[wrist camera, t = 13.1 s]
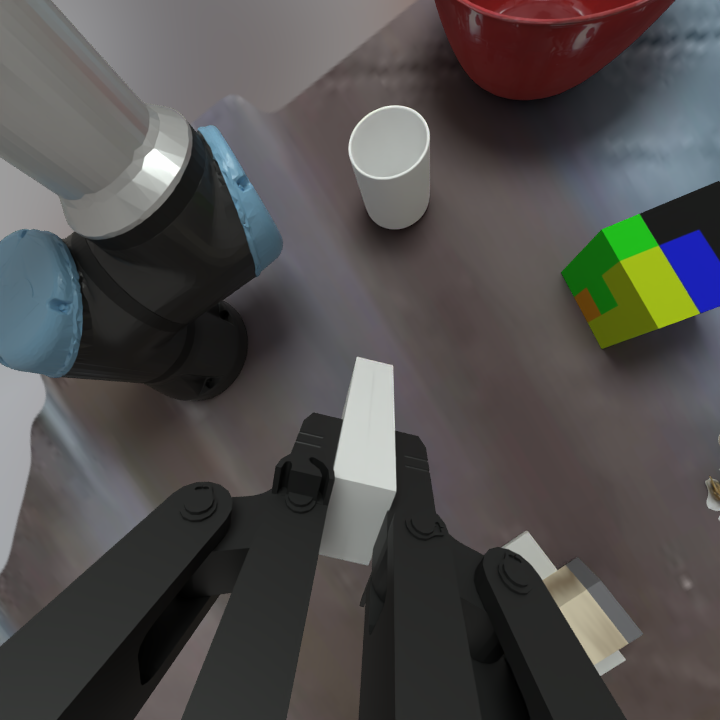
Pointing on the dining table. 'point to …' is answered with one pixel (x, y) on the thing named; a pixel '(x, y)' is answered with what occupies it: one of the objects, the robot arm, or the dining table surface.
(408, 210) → the mug
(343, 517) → the robot arm
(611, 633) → the birch block
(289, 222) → the dining table surface
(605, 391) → the dining table surface
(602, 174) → the dining table surface
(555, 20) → the mixing bowl
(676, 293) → the puzzle toy
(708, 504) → the frog figurine
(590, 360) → the dining table surface
